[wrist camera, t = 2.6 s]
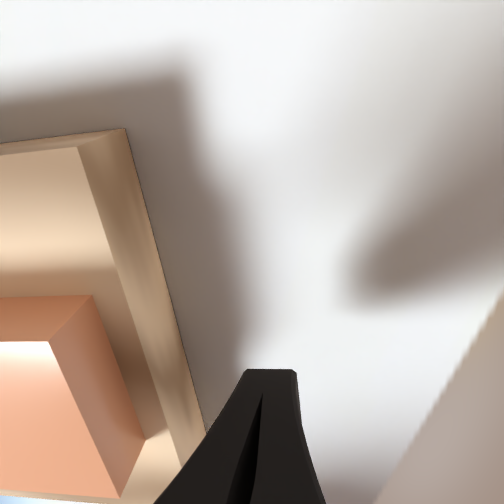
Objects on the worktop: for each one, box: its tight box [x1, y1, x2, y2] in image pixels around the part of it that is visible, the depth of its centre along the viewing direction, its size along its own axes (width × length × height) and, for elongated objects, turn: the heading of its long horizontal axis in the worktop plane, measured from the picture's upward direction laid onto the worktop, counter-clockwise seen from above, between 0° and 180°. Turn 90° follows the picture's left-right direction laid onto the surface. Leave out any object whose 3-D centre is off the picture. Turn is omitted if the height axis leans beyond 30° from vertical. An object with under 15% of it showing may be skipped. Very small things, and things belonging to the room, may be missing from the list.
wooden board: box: [0, 128, 206, 504], centre depth 14 cm, size 14×12×2 cm
